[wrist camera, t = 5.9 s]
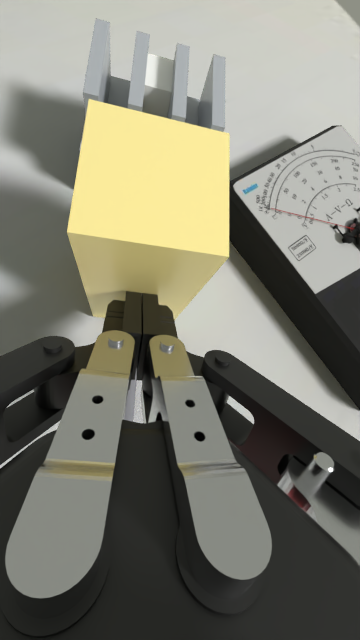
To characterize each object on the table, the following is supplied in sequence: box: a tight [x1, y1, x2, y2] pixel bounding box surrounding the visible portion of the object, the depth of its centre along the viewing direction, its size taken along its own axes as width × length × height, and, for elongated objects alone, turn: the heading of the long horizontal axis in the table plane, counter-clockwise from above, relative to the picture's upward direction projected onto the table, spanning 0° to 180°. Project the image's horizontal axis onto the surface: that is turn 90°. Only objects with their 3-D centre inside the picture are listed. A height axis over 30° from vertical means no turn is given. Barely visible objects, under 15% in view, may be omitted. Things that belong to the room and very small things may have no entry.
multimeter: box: [229, 126, 360, 409], centre depth 21 cm, size 13×19×5 cm
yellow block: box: [67, 99, 229, 320], centre depth 14 cm, size 5×5×10 cm
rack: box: [79, 18, 225, 151], centre depth 18 cm, size 6×8×7 cm
